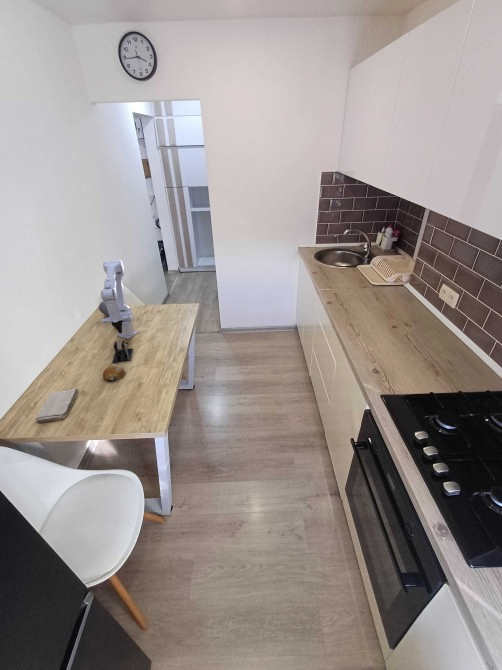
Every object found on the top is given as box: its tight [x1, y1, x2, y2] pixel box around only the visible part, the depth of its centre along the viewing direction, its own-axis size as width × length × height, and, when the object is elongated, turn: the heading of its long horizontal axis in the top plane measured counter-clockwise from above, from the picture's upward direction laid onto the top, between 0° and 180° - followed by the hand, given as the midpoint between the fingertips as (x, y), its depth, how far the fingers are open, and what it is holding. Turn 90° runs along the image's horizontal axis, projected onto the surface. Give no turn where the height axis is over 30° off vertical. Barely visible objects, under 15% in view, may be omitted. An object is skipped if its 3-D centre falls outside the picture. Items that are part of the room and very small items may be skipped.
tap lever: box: [117, 342, 129, 350], centre depth 170 cm, size 10×5×2 cm, turn 12°
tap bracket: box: [112, 340, 134, 364], centre depth 168 cm, size 11×9×9 cm
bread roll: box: [102, 363, 126, 383], centre depth 155 cm, size 10×10×8 cm
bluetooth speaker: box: [98, 300, 126, 318], centre depth 205 cm, size 23×9×10 cm, turn 49°
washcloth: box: [35, 388, 79, 423], centre depth 139 cm, size 12×18×3 cm, turn 9°
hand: (120, 332), depth 173 cm, fingers closed
